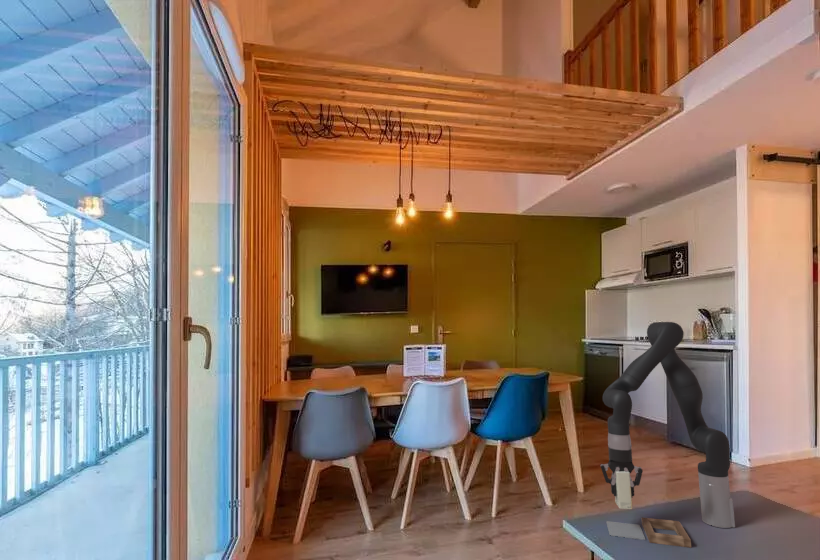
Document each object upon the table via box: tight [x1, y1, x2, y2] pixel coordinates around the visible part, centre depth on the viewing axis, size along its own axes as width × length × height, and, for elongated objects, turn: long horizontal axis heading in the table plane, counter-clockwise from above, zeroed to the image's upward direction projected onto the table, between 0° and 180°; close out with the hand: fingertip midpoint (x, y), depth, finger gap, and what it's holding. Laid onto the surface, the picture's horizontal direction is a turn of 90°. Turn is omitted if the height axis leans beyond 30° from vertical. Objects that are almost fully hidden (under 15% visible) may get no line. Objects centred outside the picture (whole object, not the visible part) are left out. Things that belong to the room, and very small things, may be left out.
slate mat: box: [605, 520, 646, 541], centre depth 154 cm, size 11×11×1 cm
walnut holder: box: [640, 517, 692, 549], centre depth 151 cm, size 12×14×2 cm
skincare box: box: [614, 471, 633, 510], centre depth 156 cm, size 6×4×12 cm
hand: (622, 495), depth 156 cm, fingers closed on skincare box, 4 cm apart
